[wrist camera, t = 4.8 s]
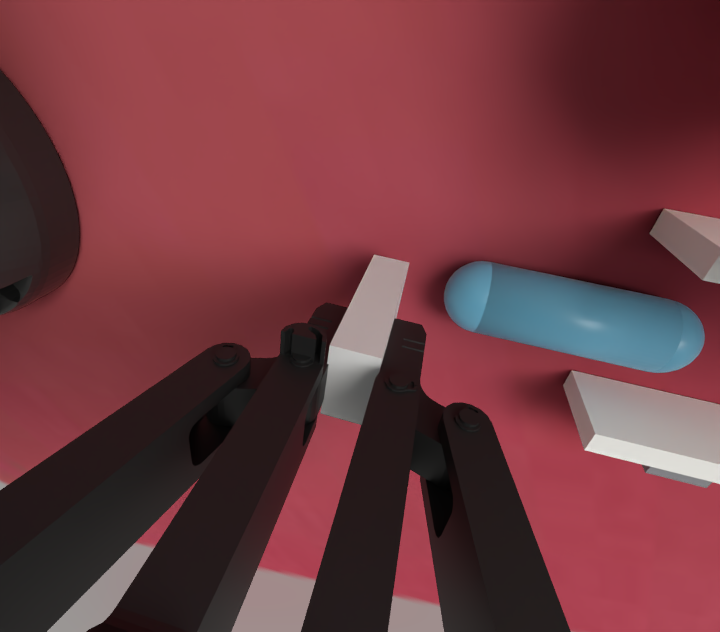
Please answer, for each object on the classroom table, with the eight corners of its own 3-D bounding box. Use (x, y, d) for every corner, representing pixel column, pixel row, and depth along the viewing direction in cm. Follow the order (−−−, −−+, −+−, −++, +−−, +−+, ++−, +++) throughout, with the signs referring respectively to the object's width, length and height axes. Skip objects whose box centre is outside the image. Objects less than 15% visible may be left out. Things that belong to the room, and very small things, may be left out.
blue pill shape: (437, 301, 19) (434, 337, 16) (454, 243, 17) (453, 273, 15) (658, 350, 18) (690, 396, 15) (698, 293, 16) (742, 334, 14)
